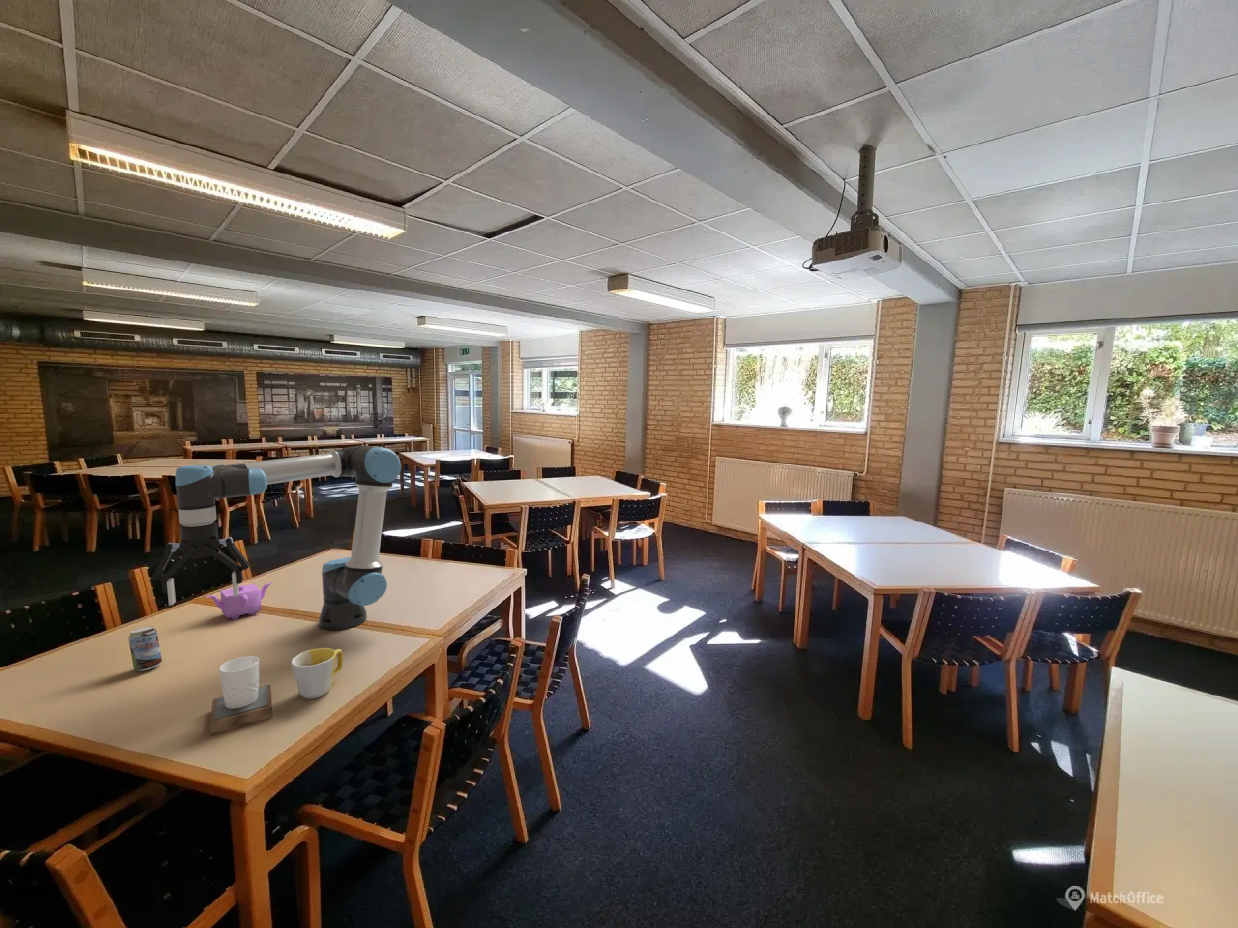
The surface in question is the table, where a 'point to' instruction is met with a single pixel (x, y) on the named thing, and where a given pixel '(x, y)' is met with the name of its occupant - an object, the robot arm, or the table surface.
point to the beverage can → (145, 648)
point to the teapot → (240, 600)
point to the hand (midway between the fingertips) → (205, 599)
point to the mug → (316, 671)
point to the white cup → (240, 681)
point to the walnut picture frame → (240, 712)
